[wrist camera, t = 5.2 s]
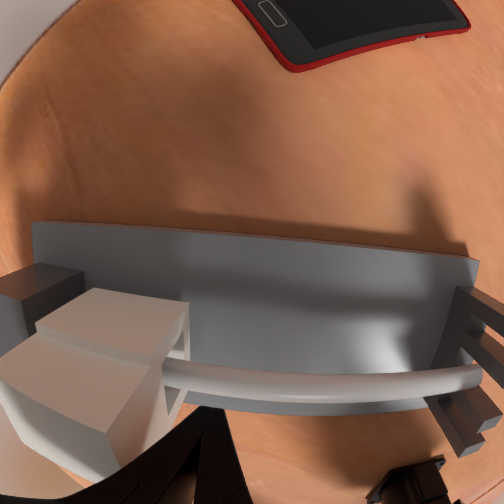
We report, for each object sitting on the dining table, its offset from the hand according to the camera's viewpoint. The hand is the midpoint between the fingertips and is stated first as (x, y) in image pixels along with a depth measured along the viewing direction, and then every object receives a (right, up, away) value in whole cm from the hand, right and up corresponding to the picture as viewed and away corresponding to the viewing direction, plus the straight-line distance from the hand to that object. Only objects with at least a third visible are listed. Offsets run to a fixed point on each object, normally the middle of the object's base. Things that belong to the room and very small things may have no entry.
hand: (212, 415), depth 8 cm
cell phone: (+8, +20, +3) cm, 22 cm away
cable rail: (0, +1, +6) cm, 7 cm away
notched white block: (-4, +1, +4) cm, 6 cm away
